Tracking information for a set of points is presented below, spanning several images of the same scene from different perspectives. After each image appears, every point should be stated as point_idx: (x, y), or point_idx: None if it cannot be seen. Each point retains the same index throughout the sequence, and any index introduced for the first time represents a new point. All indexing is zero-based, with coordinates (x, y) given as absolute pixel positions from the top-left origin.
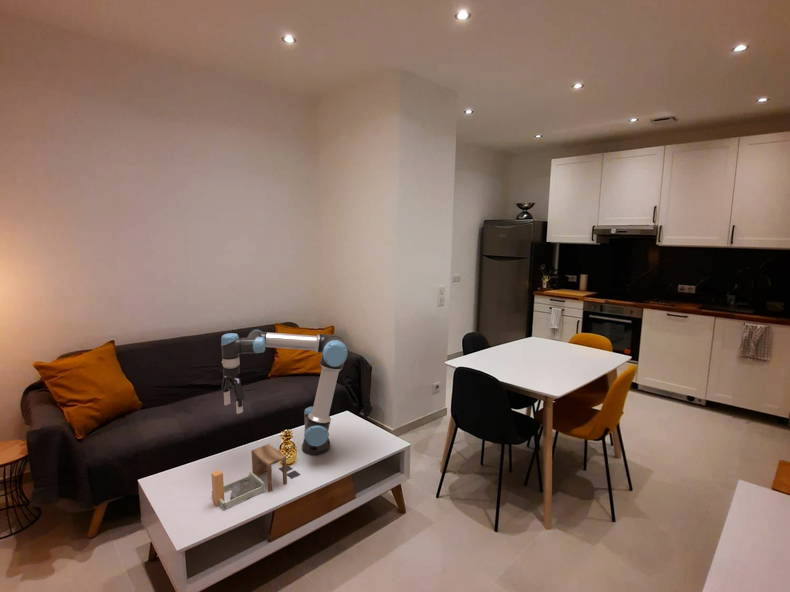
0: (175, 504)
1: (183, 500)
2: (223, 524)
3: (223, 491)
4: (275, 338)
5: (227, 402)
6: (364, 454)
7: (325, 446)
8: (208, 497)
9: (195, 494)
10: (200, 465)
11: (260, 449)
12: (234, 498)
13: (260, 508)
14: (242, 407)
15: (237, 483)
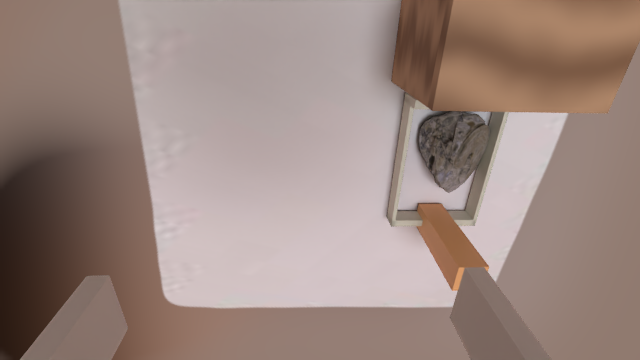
0: (342, 280)
1: (341, 265)
2: (510, 232)
3: (455, 224)
4: None
5: (103, 332)
6: None
7: None
8: (379, 221)
9: (338, 239)
10: (178, 181)
11: (465, 68)
12: (480, 196)
13: (550, 144)
14: (522, 321)
15: (443, 172)
